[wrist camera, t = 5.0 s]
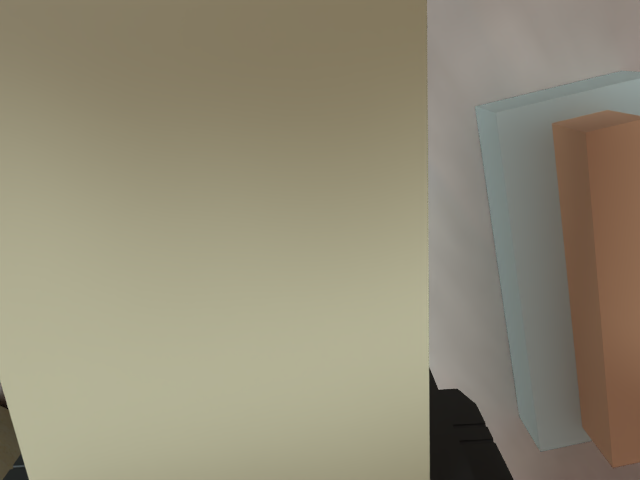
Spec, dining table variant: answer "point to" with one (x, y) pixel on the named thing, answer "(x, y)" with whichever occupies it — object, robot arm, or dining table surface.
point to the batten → (215, 238)
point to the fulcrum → (570, 257)
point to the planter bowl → (7, 443)
